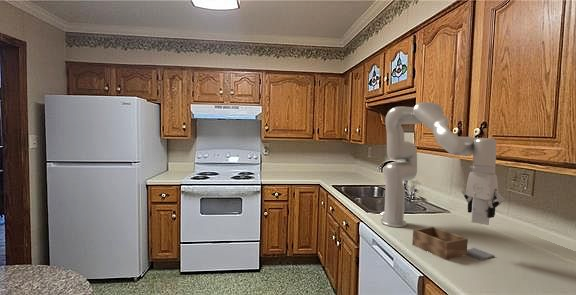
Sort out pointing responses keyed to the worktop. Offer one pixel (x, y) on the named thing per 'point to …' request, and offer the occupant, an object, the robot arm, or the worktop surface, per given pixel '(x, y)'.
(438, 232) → the crate
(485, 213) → the skincare box
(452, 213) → the worktop surface
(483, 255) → the mat
